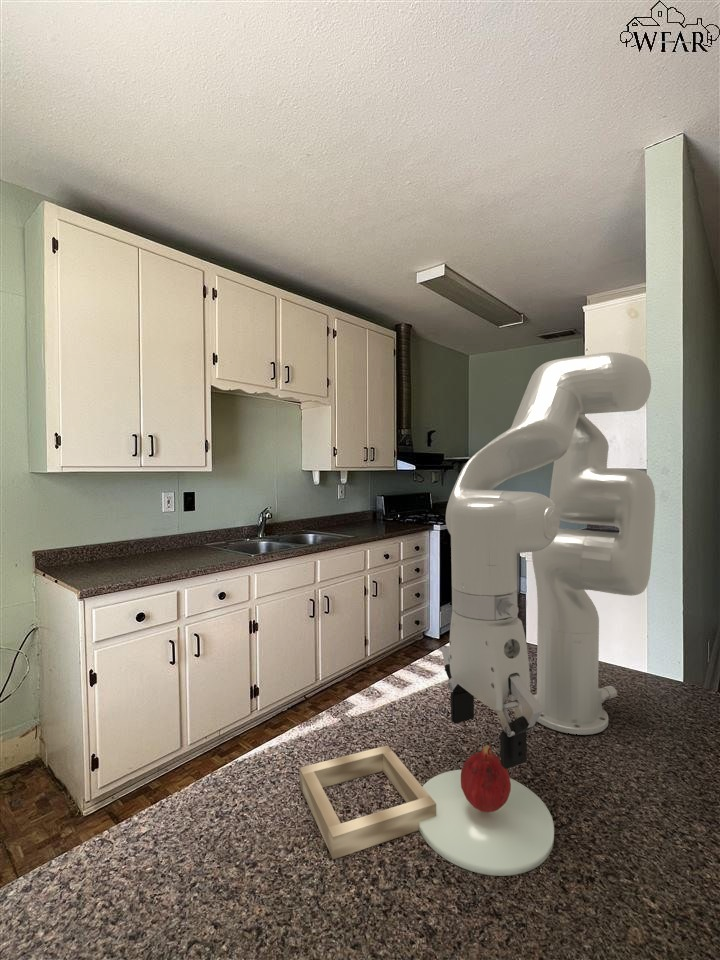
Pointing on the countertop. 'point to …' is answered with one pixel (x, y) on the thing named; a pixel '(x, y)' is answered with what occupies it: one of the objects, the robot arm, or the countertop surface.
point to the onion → (485, 781)
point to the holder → (375, 825)
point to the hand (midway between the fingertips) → (486, 740)
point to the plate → (488, 829)
